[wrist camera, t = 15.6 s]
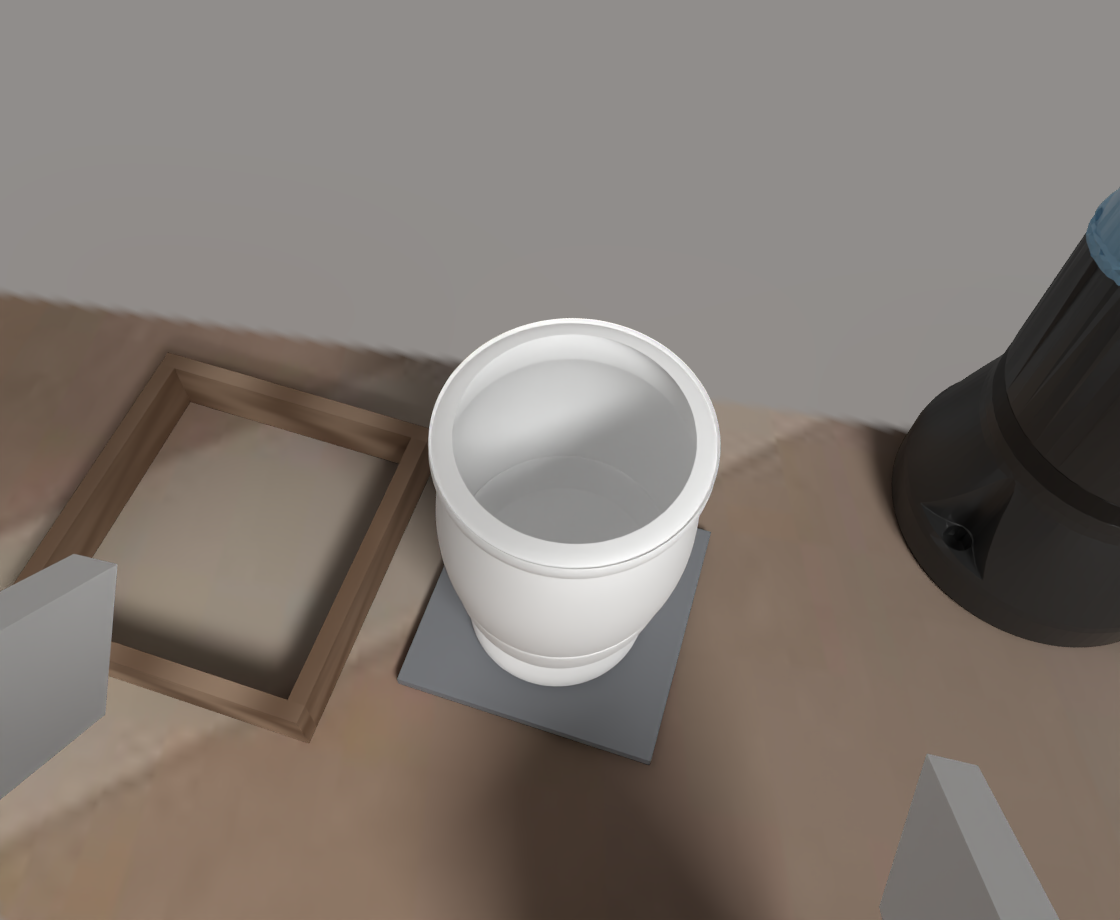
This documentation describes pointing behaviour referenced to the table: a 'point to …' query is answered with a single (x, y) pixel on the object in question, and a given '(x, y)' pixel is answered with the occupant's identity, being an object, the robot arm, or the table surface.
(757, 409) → the table surface
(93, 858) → the table surface
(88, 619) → the robot arm
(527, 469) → the jar
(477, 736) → the table surface
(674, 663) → the pad
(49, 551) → the collar
